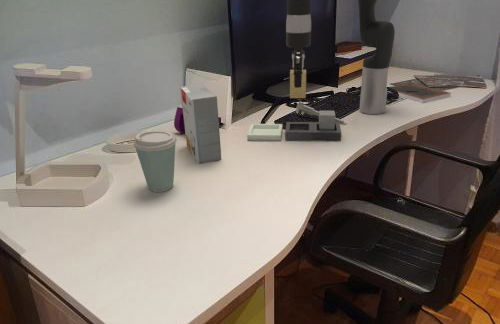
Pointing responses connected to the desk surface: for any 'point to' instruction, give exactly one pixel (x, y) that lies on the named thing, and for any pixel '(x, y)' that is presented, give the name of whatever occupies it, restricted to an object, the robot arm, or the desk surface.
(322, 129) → the grey upright block
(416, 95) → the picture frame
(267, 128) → the parts tray
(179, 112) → the mounting bracket
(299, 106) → the caliper
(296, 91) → the golden yellow block
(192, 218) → the desk surface
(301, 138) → the grey metal frame
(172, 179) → the disposable coffee cup
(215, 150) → the hard drive box
